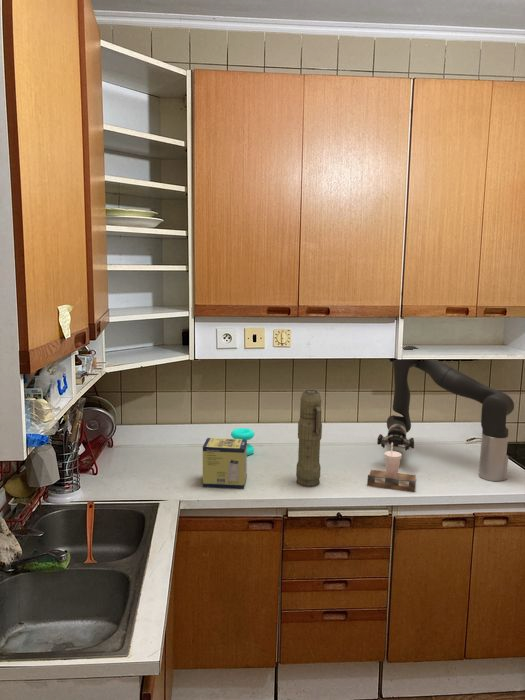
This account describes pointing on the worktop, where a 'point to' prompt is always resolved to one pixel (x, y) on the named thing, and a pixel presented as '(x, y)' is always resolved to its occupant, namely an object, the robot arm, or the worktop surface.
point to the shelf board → (391, 481)
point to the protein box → (225, 463)
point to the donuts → (244, 437)
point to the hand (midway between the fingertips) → (394, 446)
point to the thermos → (309, 439)
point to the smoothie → (392, 462)
